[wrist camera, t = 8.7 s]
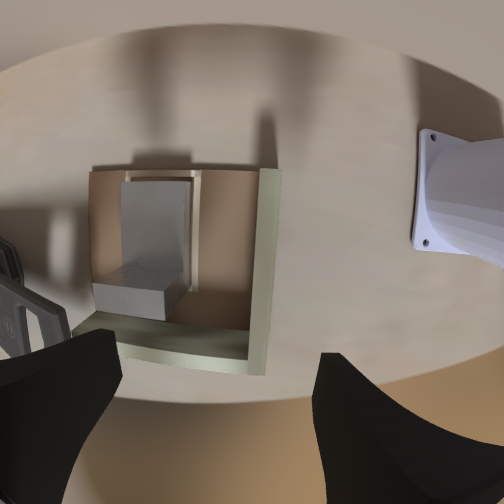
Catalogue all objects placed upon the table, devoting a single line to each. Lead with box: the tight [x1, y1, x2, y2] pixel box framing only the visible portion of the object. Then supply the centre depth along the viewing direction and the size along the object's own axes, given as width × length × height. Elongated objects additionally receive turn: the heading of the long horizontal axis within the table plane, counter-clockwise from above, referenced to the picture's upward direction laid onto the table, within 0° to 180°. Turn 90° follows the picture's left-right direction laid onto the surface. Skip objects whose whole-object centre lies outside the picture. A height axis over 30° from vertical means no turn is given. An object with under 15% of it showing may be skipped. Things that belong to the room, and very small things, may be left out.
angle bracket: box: [92, 181, 192, 321], centre depth 15 cm, size 6×4×5 cm, turn 177°
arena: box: [71, 168, 282, 376], centre depth 16 cm, size 12×11×4 cm
